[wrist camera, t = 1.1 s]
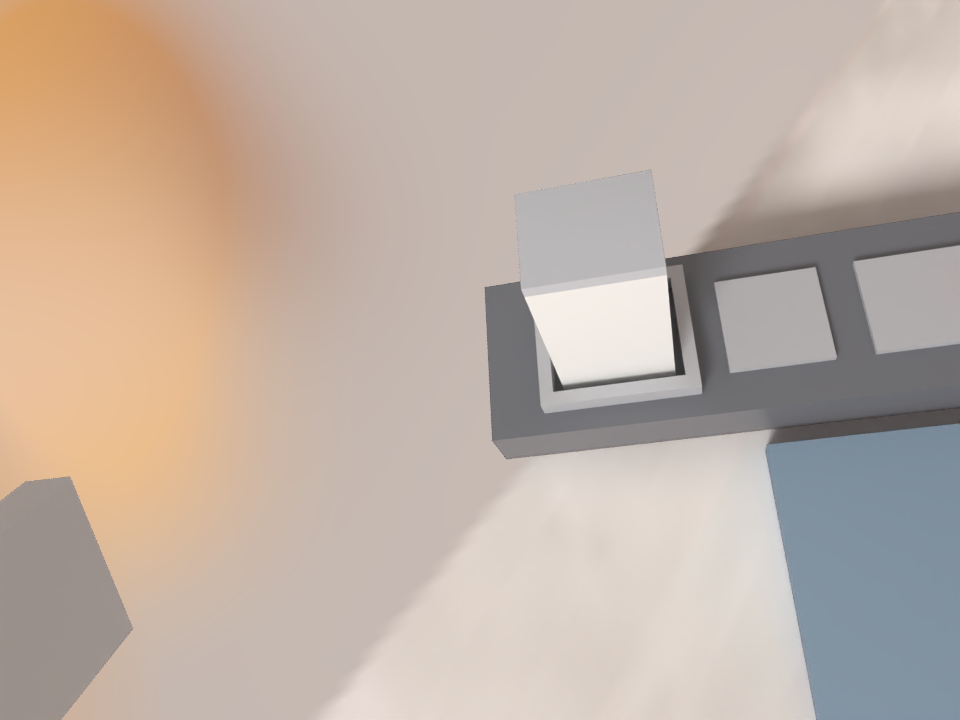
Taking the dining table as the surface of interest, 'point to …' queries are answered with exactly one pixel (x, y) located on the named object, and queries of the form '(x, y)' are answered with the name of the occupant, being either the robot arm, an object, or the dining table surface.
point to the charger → (597, 279)
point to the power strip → (755, 344)
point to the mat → (875, 569)
